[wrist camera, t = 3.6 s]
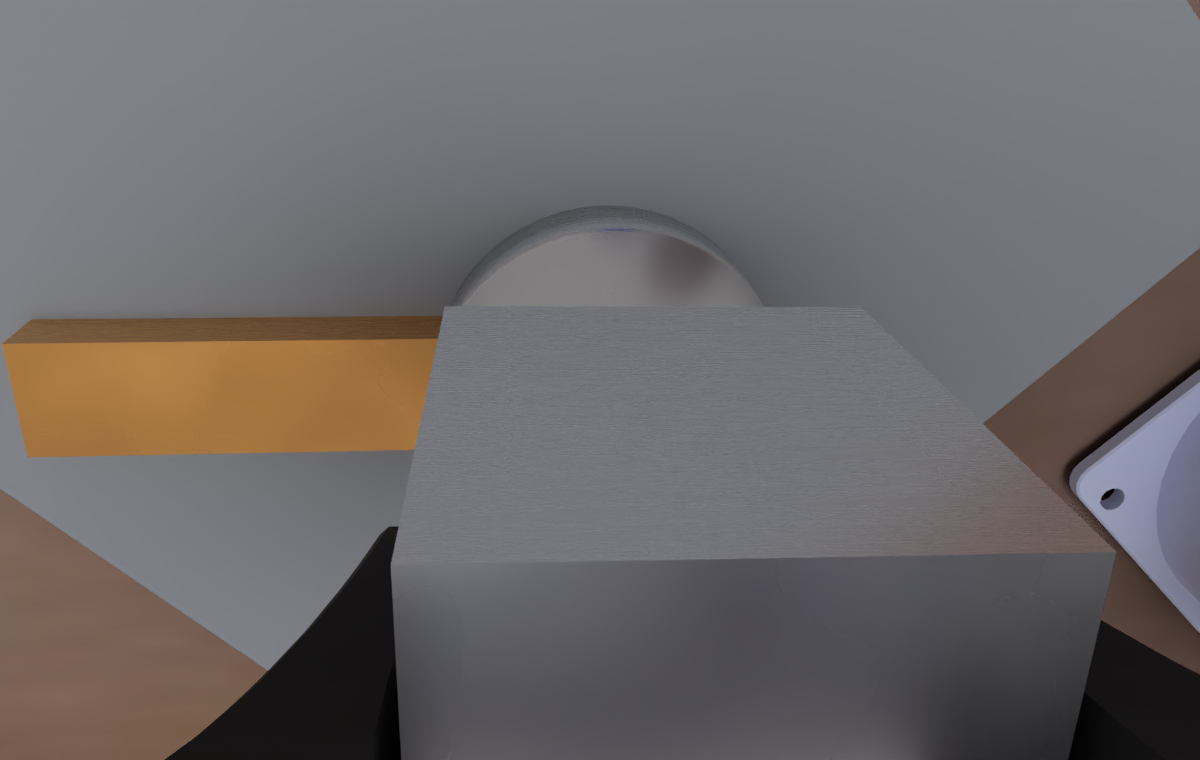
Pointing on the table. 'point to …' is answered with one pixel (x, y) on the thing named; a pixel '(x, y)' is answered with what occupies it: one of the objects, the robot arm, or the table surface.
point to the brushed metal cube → (726, 549)
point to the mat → (556, 204)
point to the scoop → (332, 349)
